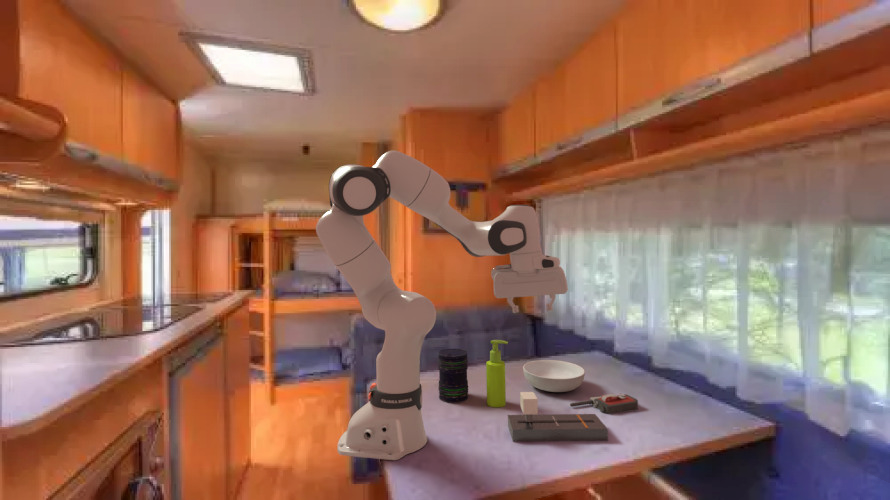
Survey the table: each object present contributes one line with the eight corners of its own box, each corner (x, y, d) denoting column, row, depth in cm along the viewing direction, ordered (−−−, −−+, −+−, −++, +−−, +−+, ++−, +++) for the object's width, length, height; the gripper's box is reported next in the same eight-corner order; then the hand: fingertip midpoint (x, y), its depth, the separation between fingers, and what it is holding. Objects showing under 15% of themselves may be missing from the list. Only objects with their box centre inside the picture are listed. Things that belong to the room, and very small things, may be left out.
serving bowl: (523, 397, 132) (523, 376, 132) (522, 376, 152) (522, 358, 152) (590, 400, 128) (589, 379, 128) (580, 379, 148) (579, 360, 148)
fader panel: (512, 441, 102) (512, 429, 102) (507, 425, 111) (507, 414, 111) (607, 440, 101) (607, 428, 101) (595, 424, 110) (594, 413, 110)
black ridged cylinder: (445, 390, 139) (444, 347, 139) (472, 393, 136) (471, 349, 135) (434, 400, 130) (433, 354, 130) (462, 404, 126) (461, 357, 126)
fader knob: (523, 424, 104) (523, 399, 104) (520, 416, 109) (520, 392, 109) (537, 424, 104) (537, 398, 104) (533, 416, 109) (533, 391, 109)
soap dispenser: (508, 408, 123) (507, 343, 123) (486, 406, 124) (484, 342, 124) (509, 401, 129) (508, 338, 128) (487, 399, 130) (486, 338, 130)
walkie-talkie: (622, 399, 129) (568, 408, 123) (622, 386, 129) (568, 393, 123) (643, 410, 120) (586, 419, 115) (642, 395, 120) (585, 404, 115)
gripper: (488, 267, 112) (494, 316, 112) (563, 260, 105) (569, 312, 106) (492, 264, 118) (498, 311, 118) (564, 257, 111) (570, 306, 112)
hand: (532, 311), depth 112 cm, fingers open, 8 cm apart
